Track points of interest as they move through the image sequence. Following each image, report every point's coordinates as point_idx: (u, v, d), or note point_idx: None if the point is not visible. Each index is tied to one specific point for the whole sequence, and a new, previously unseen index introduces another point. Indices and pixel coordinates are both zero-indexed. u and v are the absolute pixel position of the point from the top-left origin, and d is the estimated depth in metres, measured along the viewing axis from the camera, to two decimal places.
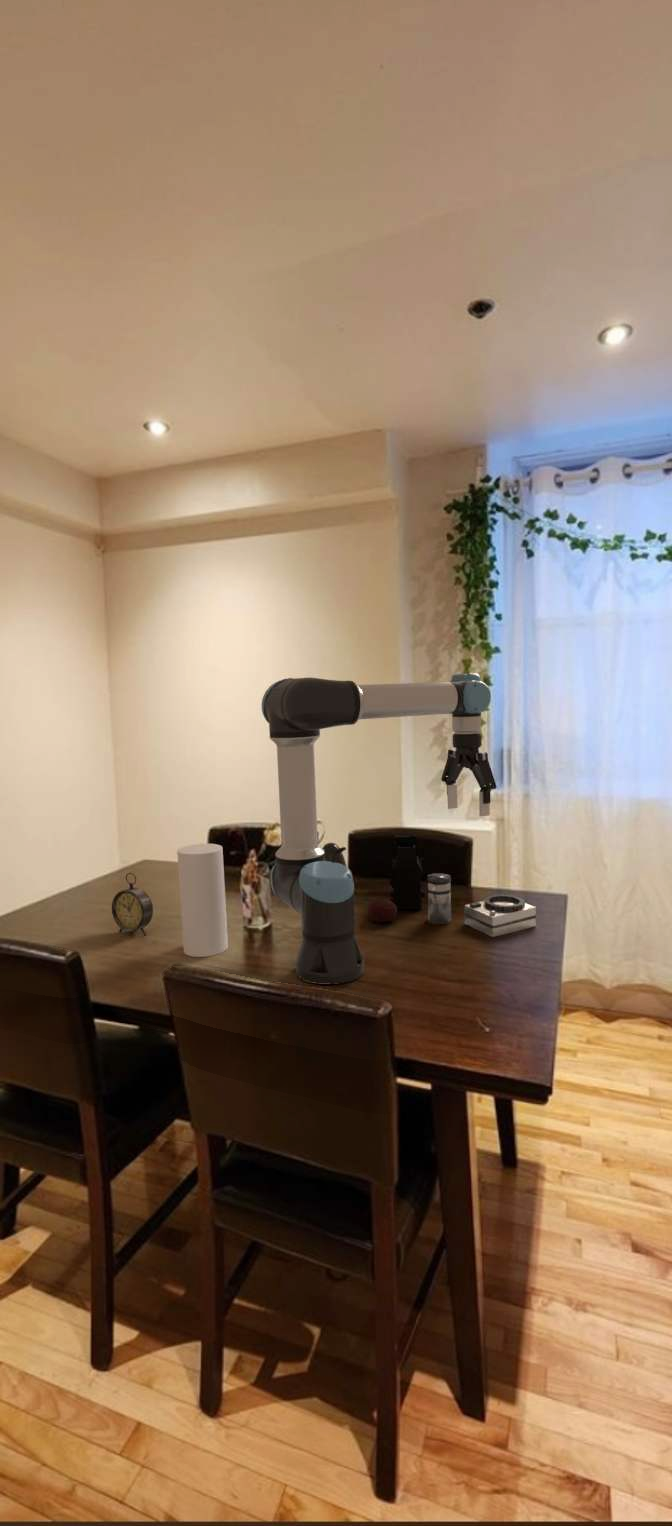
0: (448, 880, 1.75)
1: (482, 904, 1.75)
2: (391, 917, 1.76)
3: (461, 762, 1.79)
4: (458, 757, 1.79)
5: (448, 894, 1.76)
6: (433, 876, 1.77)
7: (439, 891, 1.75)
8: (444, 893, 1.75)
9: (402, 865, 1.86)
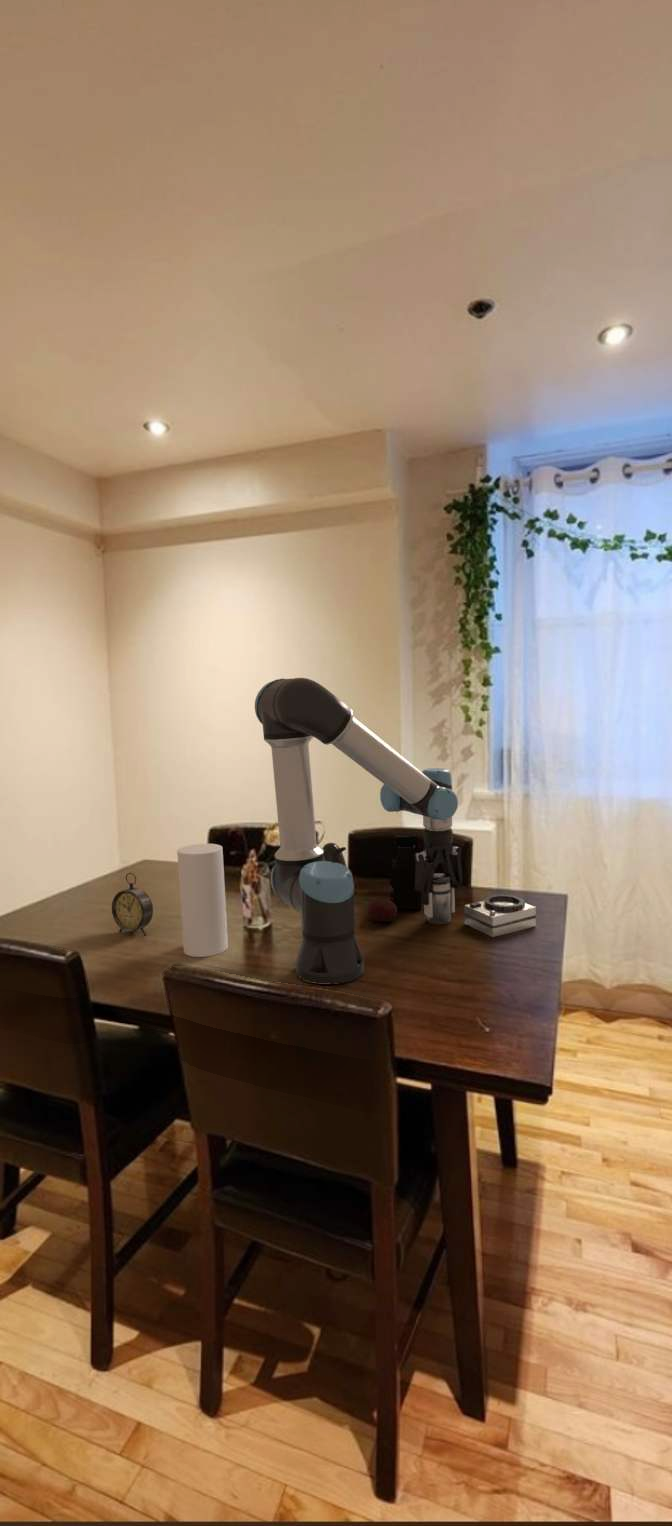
0: (448, 880, 1.75)
1: (482, 904, 1.75)
2: (391, 917, 1.76)
3: None
4: None
5: (448, 894, 1.75)
6: (433, 876, 1.77)
7: (438, 891, 1.75)
8: (444, 893, 1.75)
9: (402, 865, 1.86)
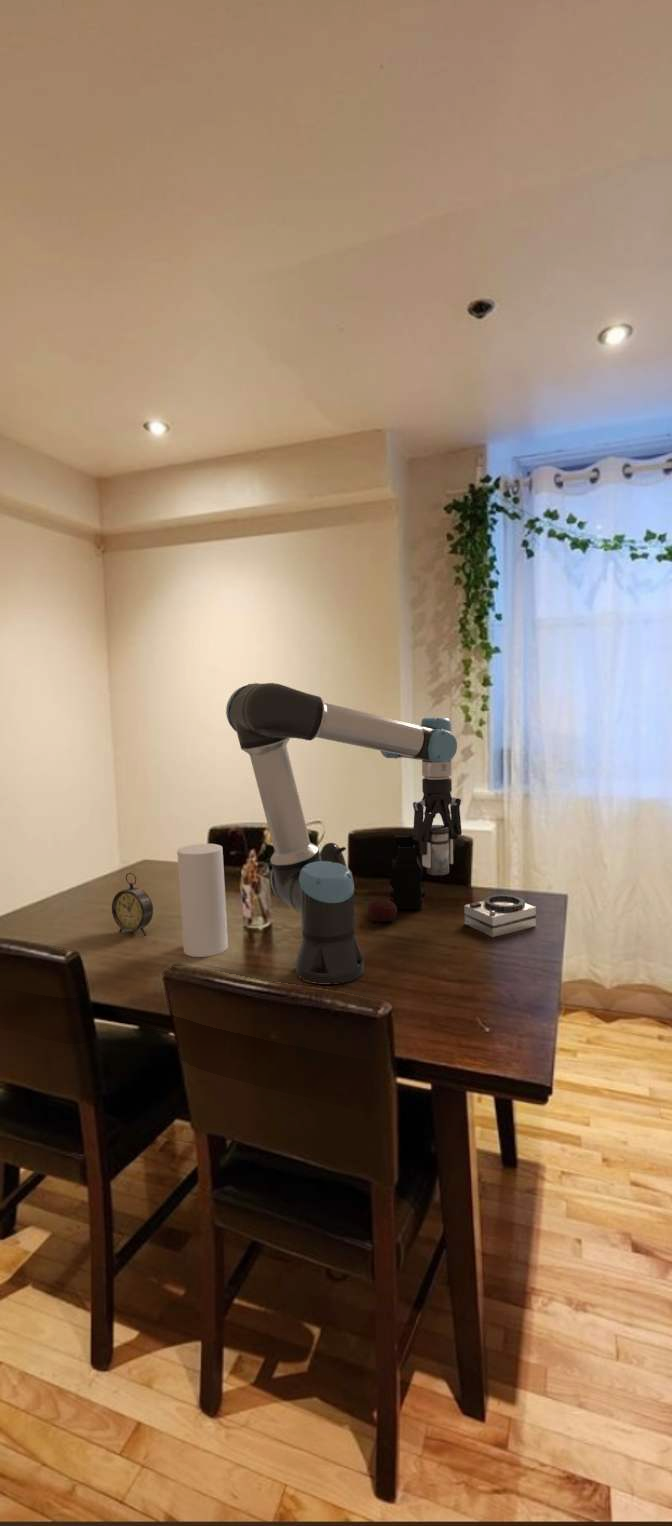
0: (446, 830, 1.73)
1: (482, 904, 1.75)
2: (391, 917, 1.76)
3: None
4: None
5: (446, 844, 1.74)
6: None
7: (437, 841, 1.73)
8: (442, 843, 1.73)
9: (402, 865, 1.86)
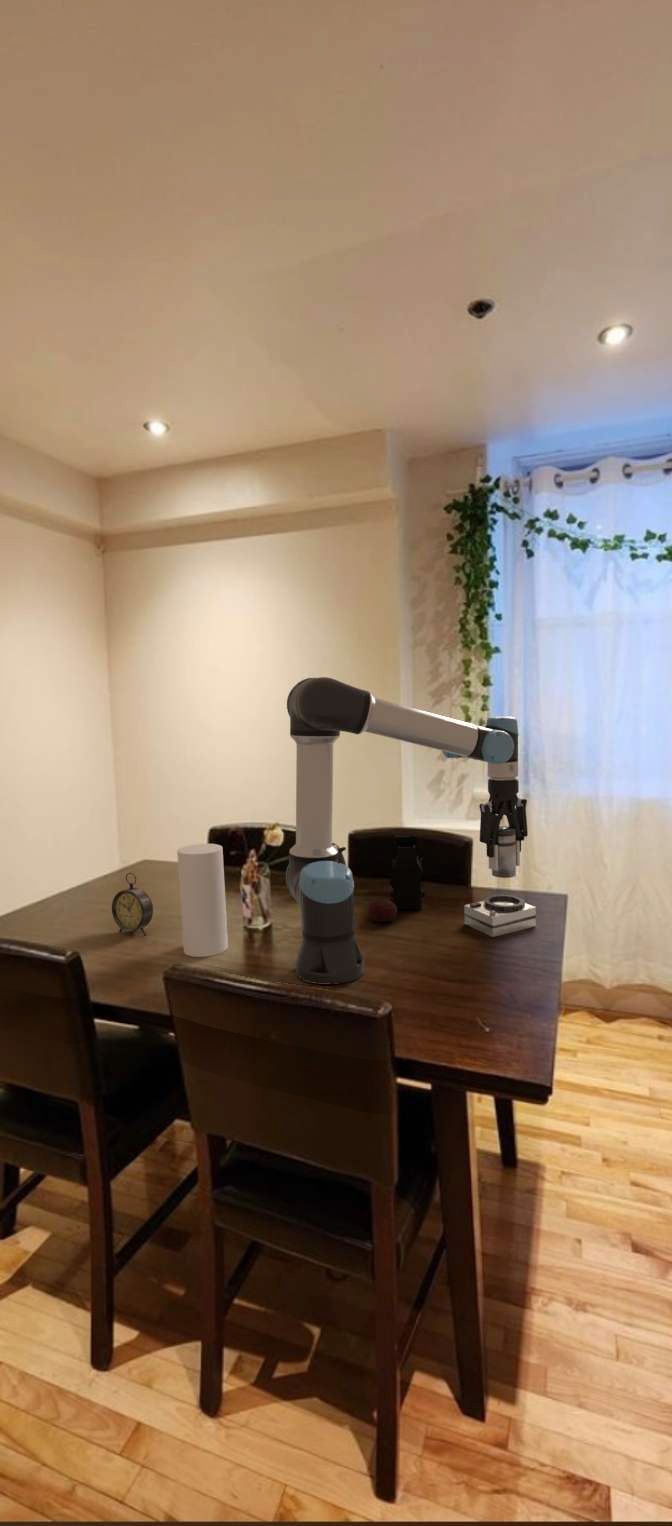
0: (514, 831, 1.69)
1: (482, 904, 1.75)
2: (391, 917, 1.76)
3: None
4: None
5: (514, 846, 1.70)
6: None
7: (504, 843, 1.69)
8: (510, 845, 1.69)
9: (402, 865, 1.86)
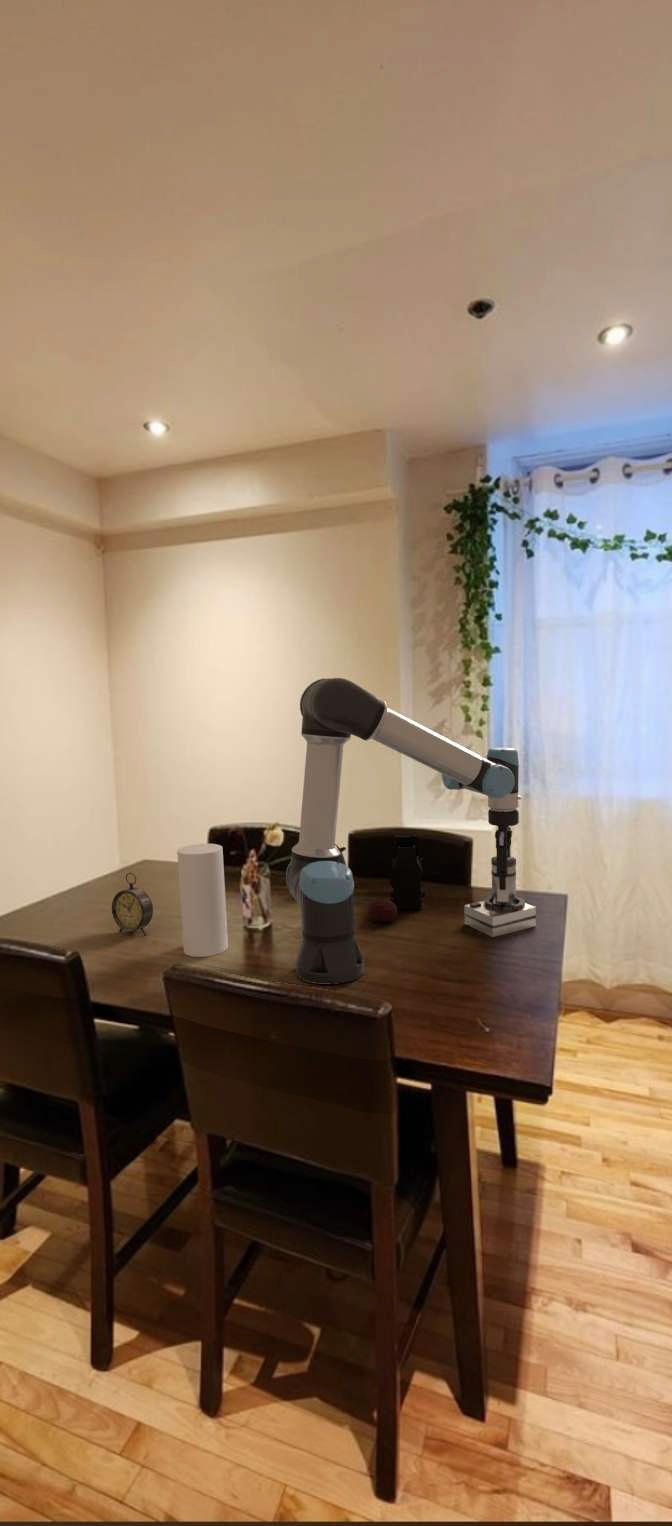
0: None
1: (482, 904, 1.75)
2: (391, 917, 1.76)
3: None
4: None
5: None
6: None
7: (512, 873, 1.70)
8: (515, 874, 1.71)
9: (402, 865, 1.86)
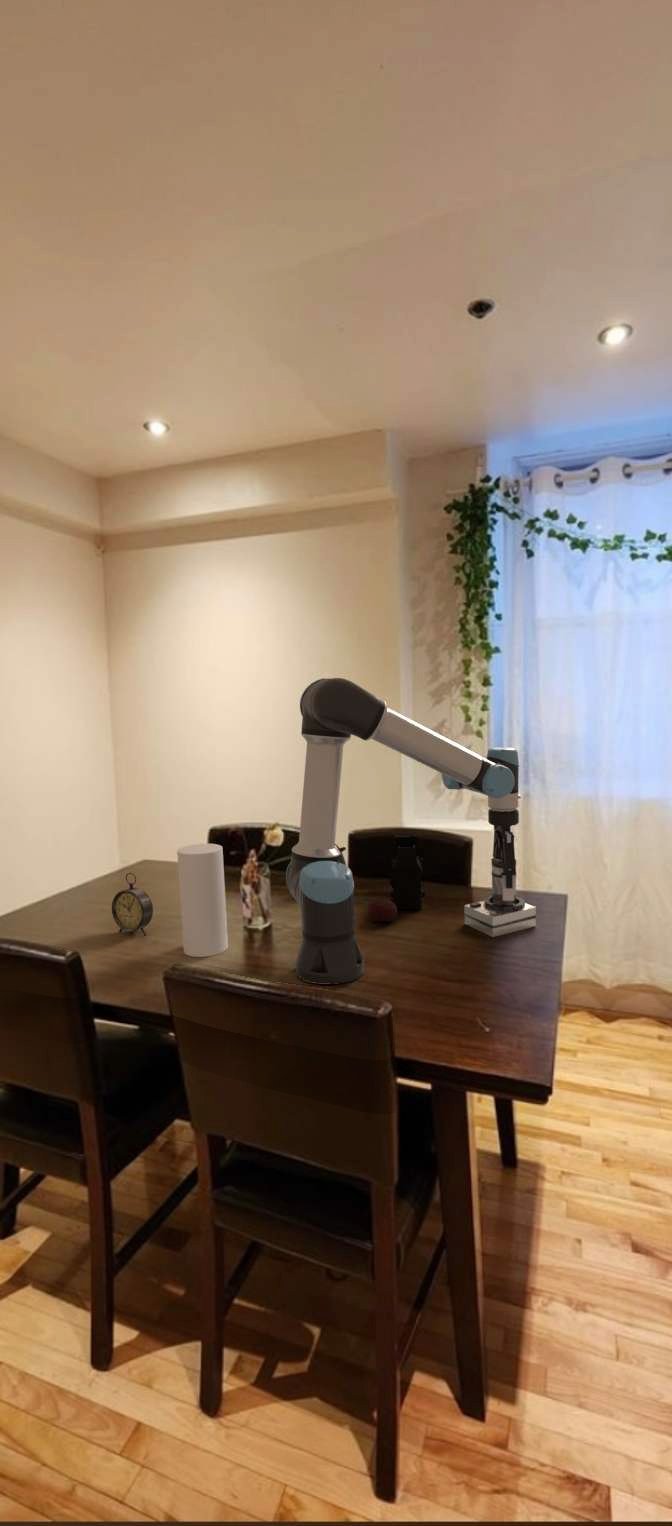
0: None
1: (482, 904, 1.75)
2: (391, 917, 1.76)
3: None
4: (495, 833, 1.73)
5: None
6: None
7: None
8: None
9: (402, 865, 1.86)
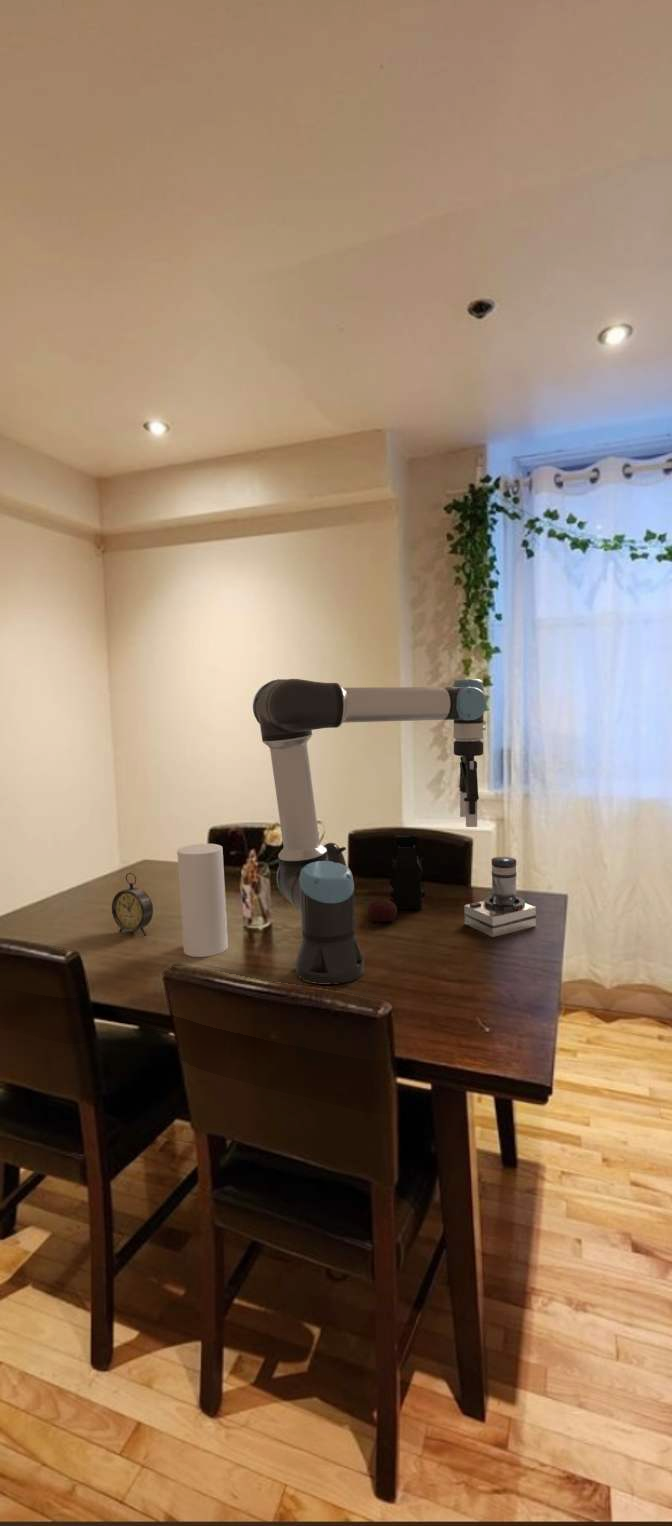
0: None
1: (482, 904, 1.75)
2: (391, 917, 1.76)
3: None
4: (460, 764, 1.75)
5: None
6: (502, 860, 1.71)
7: (514, 873, 1.71)
8: None
9: (402, 865, 1.86)
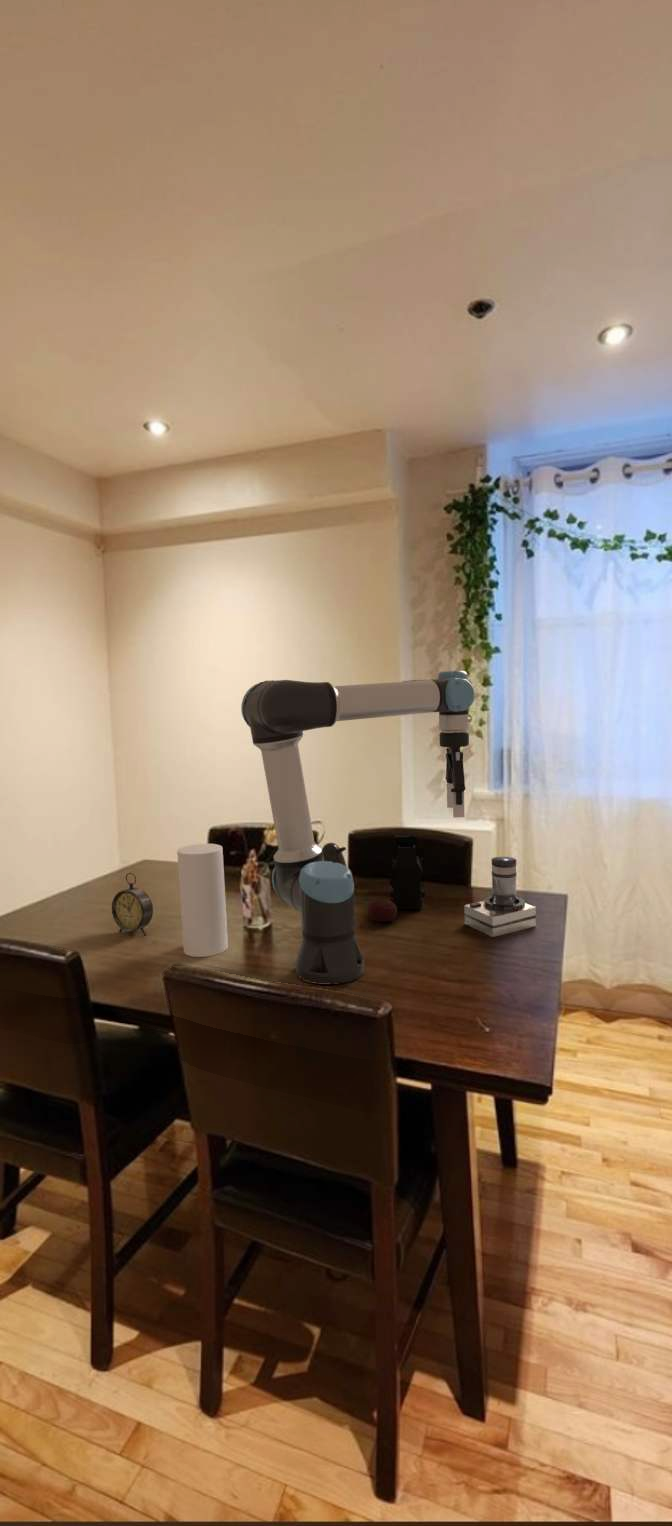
0: None
1: (482, 904, 1.75)
2: (391, 917, 1.76)
3: None
4: (446, 756, 1.76)
5: None
6: (502, 860, 1.71)
7: (514, 873, 1.71)
8: None
9: (402, 865, 1.86)
